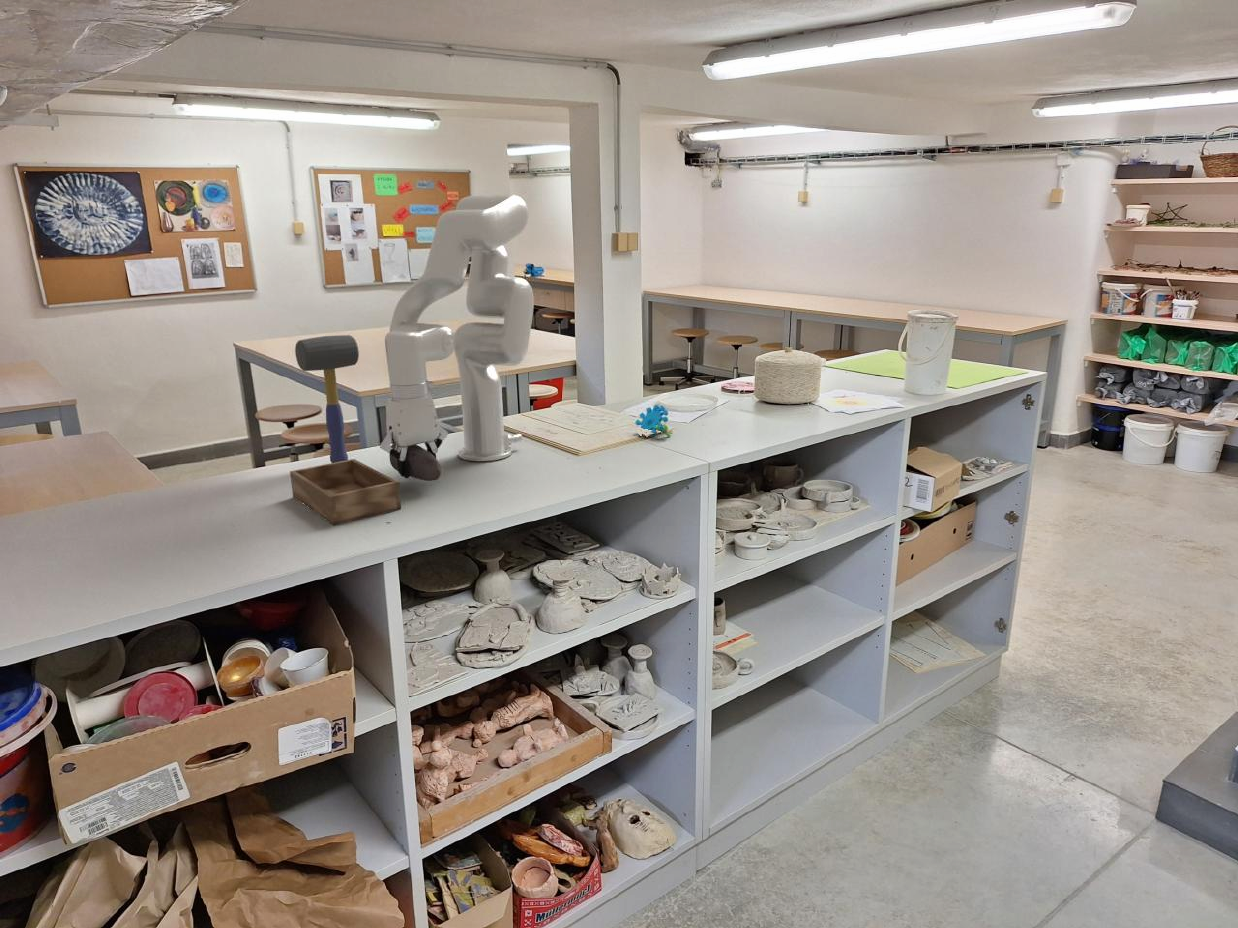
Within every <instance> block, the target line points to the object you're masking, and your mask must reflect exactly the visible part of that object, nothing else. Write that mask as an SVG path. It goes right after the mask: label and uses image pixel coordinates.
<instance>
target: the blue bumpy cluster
mask: <svg viewBox="0 0 1238 928" xmlns="http://www.w3.org/2000/svg"><path fill="white" fill-rule="evenodd" d="M645 412H646V413H644V412H642V413H640V414H639V417H640V418H641V420H642V421H640V419H636V420H635V422H634V423H635V425H636V426H637V425H638V426H640V427H641V428H643V429H648V430H652V431H651V432H652V433H654V434H656V435H658V432H657V431H661V432H662V433H661V434H664V435H666V436H667V437H668V438H670V437H671V434H670V432H668V430H669V427H668V426H667V425H666V423H668V420H669V418H668V417H667V416H668V415H669V411H668V409H666V408H665V406H663V405H660V406H659V405H658V404H654V405H653V408H651V406H650V407H649V406H648V407H647V408H646V409H645ZM662 421H663V422H664V424H663V423H662Z"/></svg>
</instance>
